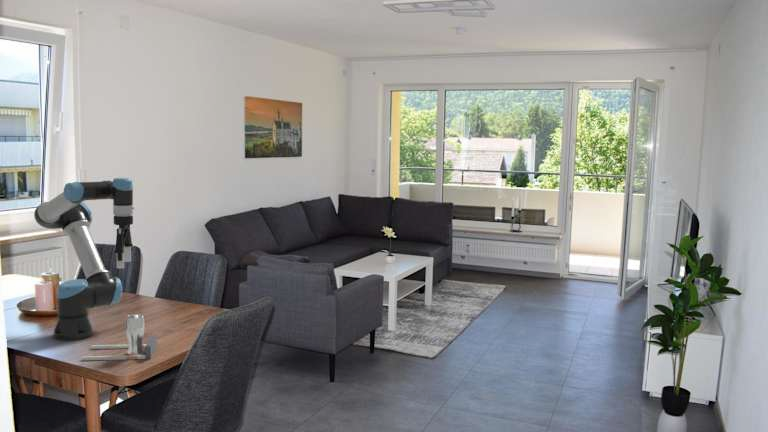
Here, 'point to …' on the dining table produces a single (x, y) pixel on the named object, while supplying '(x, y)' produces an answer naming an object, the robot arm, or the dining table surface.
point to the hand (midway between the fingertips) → (124, 265)
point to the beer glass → (135, 333)
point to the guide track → (148, 347)
